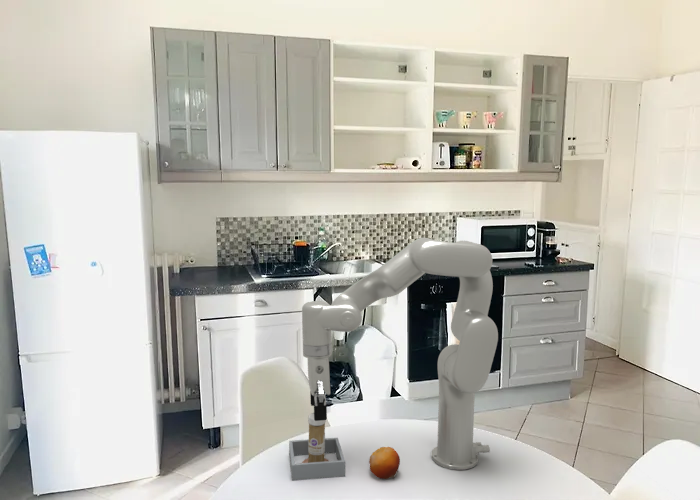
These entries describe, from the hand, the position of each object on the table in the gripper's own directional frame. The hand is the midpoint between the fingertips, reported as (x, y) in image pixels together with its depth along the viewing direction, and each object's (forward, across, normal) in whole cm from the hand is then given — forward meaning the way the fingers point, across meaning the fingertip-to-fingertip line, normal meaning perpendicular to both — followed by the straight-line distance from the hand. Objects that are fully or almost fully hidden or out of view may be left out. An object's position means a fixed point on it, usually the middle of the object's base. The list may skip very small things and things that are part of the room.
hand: (318, 412), depth 138 cm
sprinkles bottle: (+14, 0, +1) cm, 14 cm away
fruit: (+15, -7, -16) cm, 23 cm away
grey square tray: (+15, 0, +1) cm, 15 cm away
